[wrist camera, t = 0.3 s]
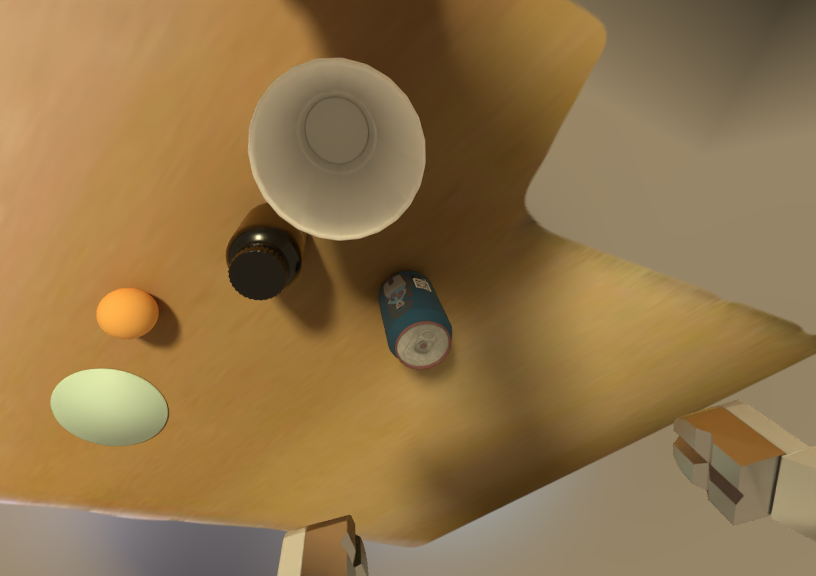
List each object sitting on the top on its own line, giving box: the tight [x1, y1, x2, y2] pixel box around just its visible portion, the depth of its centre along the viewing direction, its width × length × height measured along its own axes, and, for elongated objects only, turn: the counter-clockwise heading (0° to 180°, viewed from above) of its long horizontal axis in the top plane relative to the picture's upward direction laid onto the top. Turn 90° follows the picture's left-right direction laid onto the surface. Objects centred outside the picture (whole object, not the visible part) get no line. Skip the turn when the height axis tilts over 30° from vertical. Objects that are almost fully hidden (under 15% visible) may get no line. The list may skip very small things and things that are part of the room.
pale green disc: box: [51, 368, 168, 446], centre depth 51 cm, size 13×13×1 cm
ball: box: [96, 288, 159, 339], centre depth 43 cm, size 6×6×6 cm
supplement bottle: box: [226, 203, 307, 300], centre depth 39 cm, size 7×7×12 cm
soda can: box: [378, 271, 452, 369], centre depth 46 cm, size 7×7×12 cm
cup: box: [248, 58, 426, 241], centre depth 34 cm, size 12×12×16 cm
